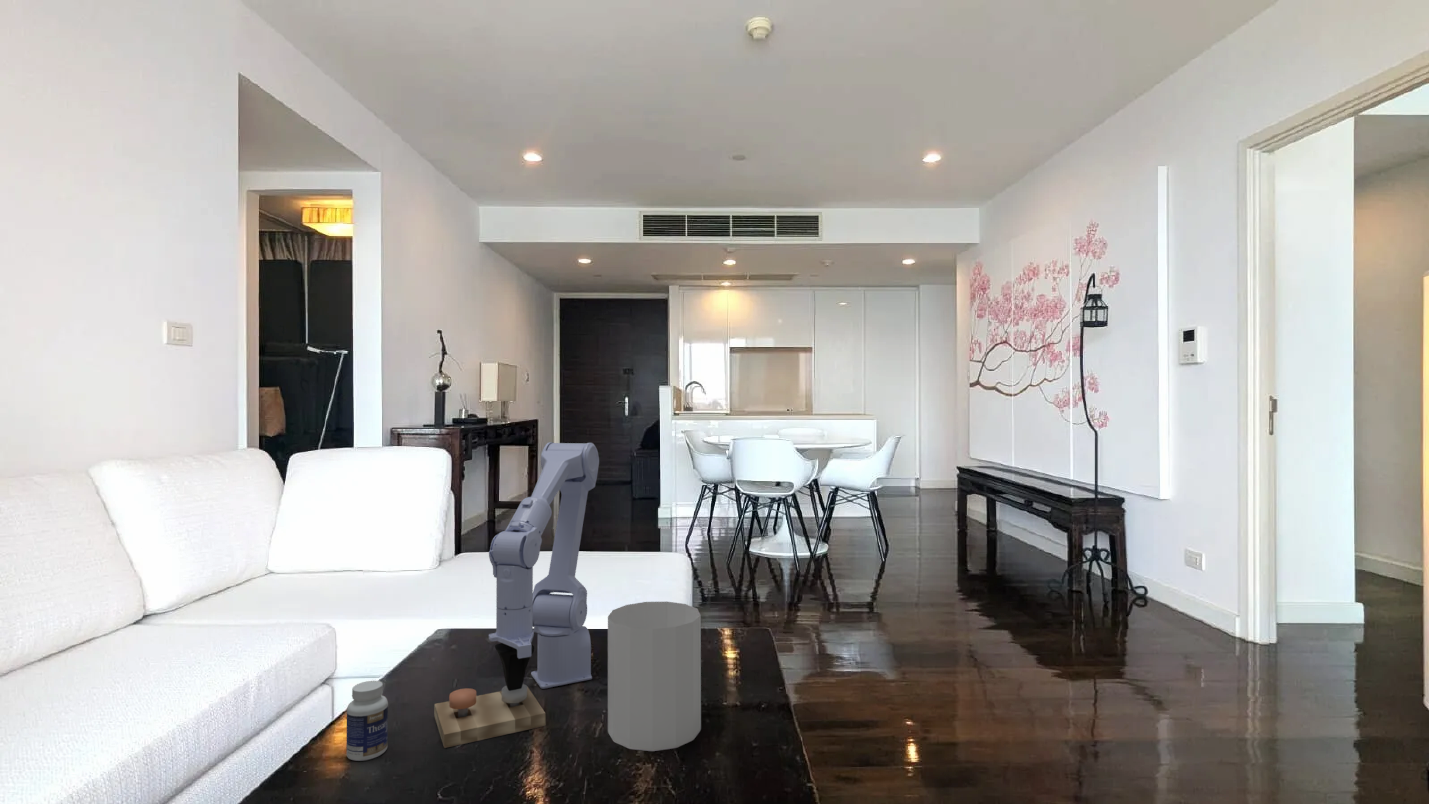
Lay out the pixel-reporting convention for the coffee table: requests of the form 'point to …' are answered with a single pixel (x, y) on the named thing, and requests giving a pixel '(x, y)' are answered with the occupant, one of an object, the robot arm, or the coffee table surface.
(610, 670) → the container
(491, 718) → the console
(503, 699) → the grey plunger
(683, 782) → the coffee table surface
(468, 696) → the rust plunger
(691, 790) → the coffee table surface
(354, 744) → the pill bottle
